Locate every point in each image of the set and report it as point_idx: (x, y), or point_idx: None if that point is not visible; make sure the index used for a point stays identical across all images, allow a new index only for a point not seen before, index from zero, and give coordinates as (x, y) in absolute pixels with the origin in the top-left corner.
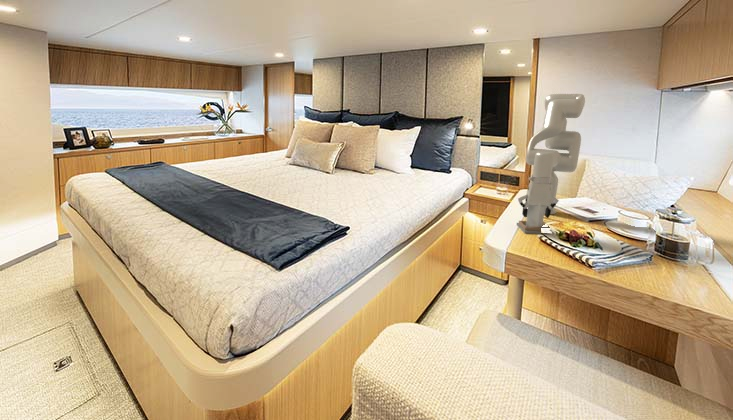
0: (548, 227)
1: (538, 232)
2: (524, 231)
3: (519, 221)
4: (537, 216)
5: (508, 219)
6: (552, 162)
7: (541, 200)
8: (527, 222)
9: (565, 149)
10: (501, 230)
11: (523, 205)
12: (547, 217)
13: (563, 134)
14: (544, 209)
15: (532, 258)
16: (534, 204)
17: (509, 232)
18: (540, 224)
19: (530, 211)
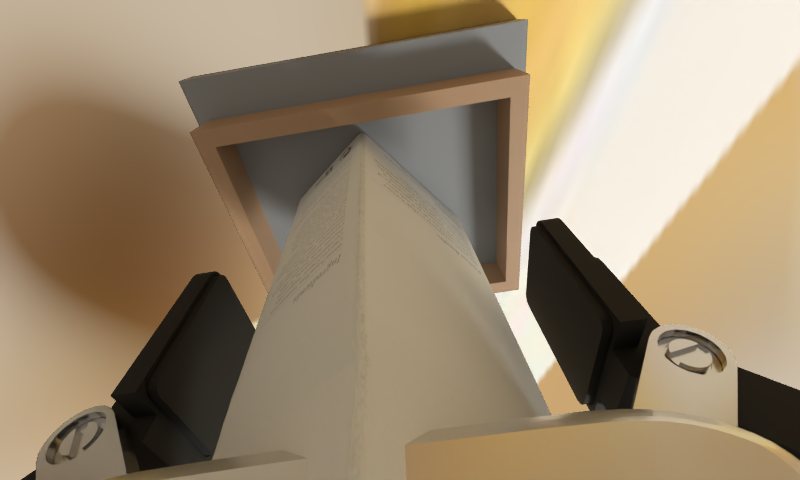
0: (225, 145)
1: (353, 50)
2: (525, 35)
3: (517, 274)
4: (377, 216)
5: (529, 363)
6: None
7: None
8: (461, 233)
9: None
10: (749, 68)
11: (768, 407)
12: (215, 275)
13: None
14: (234, 392)
15: None
16: (566, 457)
17: (693, 11)
18: (321, 188)
19: (490, 329)
